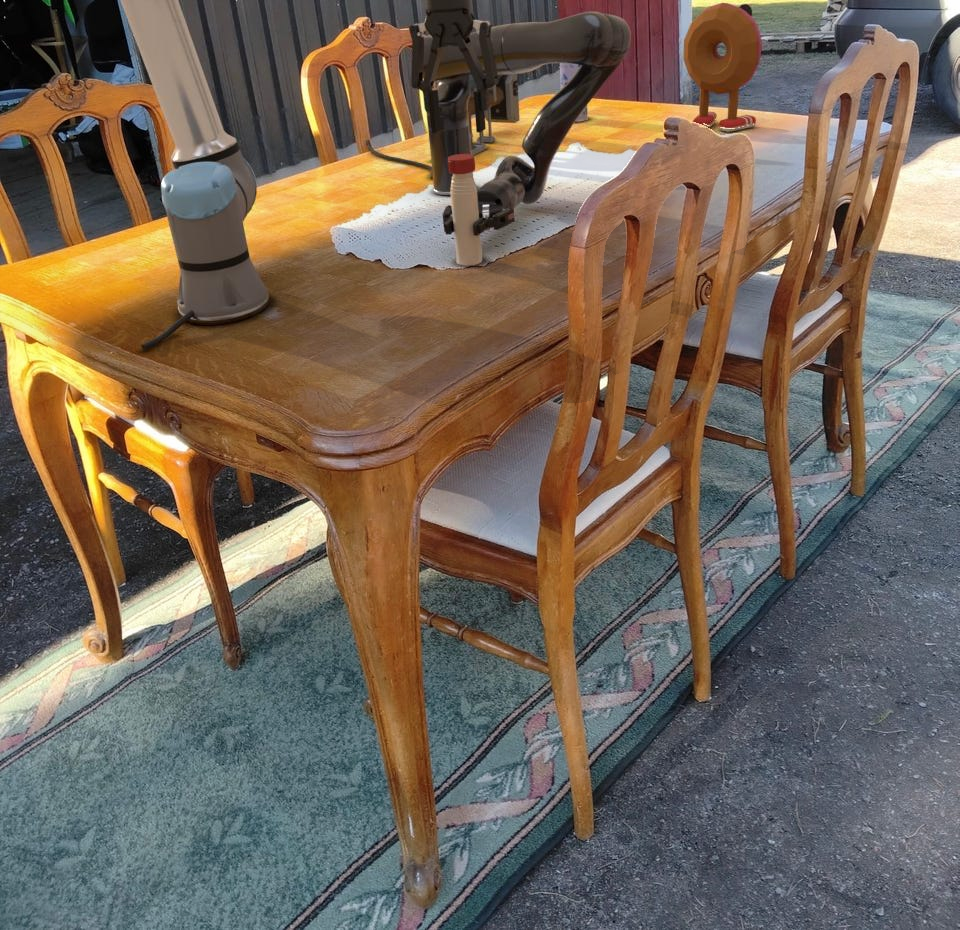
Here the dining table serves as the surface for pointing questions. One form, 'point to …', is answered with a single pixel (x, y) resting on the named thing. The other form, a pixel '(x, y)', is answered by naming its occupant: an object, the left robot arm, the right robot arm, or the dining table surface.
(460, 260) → the bottle
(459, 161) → the cap
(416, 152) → the dining table surface
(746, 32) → the toy
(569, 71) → the aerosol can
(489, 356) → the dining table surface
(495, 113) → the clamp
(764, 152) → the dining table surface
